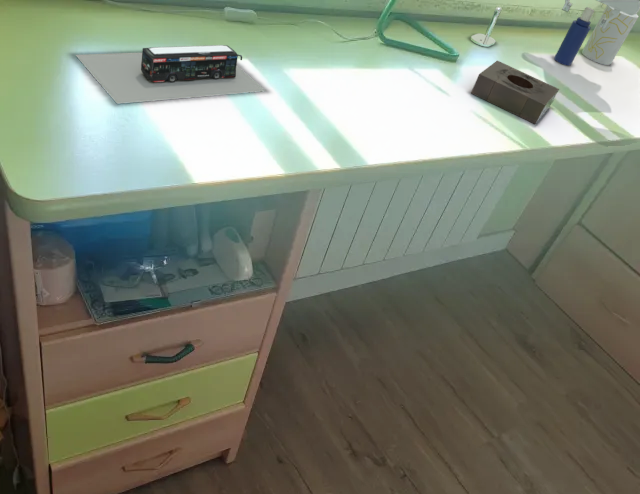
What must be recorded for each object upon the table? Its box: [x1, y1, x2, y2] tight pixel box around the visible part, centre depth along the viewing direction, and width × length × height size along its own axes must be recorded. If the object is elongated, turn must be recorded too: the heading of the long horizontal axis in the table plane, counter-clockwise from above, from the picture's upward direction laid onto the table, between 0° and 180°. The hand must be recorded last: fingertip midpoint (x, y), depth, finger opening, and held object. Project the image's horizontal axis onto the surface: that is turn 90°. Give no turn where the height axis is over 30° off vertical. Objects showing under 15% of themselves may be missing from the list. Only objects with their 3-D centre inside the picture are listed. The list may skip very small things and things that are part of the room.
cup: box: [581, 5, 639, 66], centre depth 156 cm, size 8×8×12 cm
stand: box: [470, 6, 502, 48], centre depth 143 cm, size 8×5×8 cm
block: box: [470, 60, 560, 125], centre depth 121 cm, size 14×12×4 cm
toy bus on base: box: [75, 44, 267, 105], centre depth 93 cm, size 14×25×4 cm, turn 127°
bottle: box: [553, 6, 595, 66], centre depth 146 cm, size 4×4×12 cm
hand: (583, 19), depth 143 cm, fingers open, 8 cm apart
